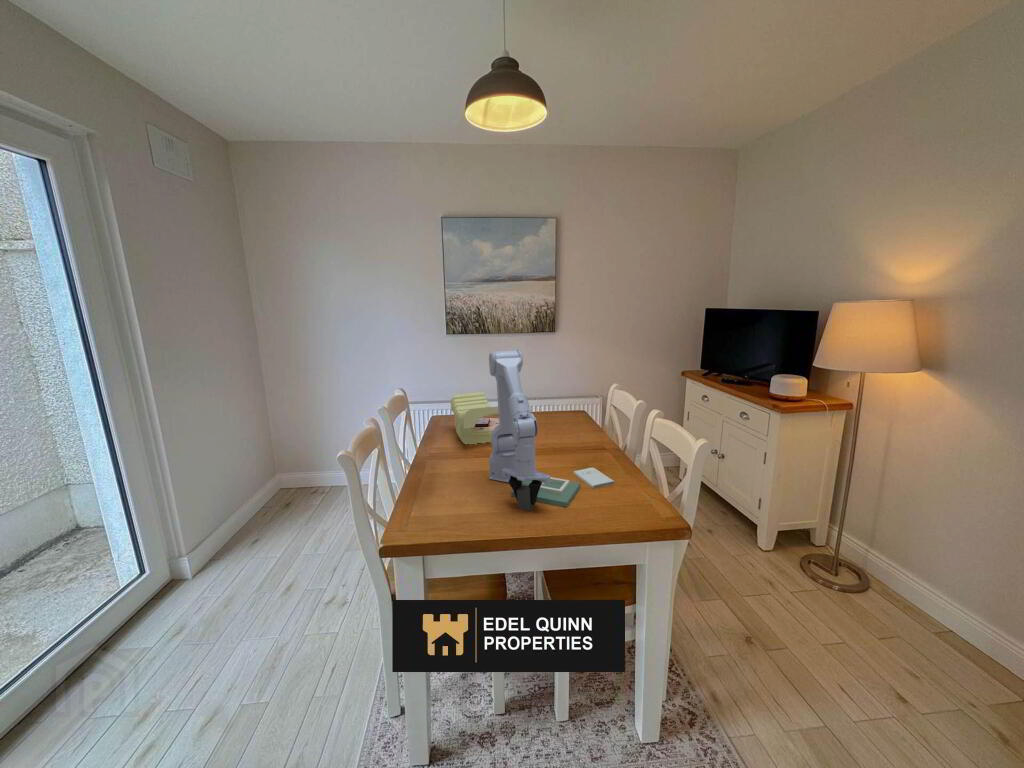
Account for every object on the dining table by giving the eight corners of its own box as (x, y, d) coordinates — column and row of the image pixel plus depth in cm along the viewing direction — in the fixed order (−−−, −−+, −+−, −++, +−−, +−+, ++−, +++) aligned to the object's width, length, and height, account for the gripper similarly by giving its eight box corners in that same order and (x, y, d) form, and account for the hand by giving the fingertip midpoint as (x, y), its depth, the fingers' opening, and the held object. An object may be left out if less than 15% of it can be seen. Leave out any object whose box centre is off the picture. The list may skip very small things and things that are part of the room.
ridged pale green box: (452, 431, 190) (450, 394, 186) (485, 427, 195) (483, 391, 191) (465, 453, 162) (462, 410, 158) (503, 447, 167) (501, 406, 163)
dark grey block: (517, 508, 117) (516, 488, 116) (523, 502, 120) (522, 483, 119) (530, 511, 115) (529, 491, 114) (535, 504, 119) (535, 485, 117)
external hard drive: (592, 490, 128) (573, 475, 139) (614, 485, 131) (593, 471, 142) (592, 485, 128) (573, 470, 139) (614, 480, 130) (593, 466, 142)
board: (511, 496, 124) (510, 488, 124) (529, 478, 137) (528, 470, 136) (566, 507, 117) (566, 498, 116) (580, 487, 129) (580, 479, 128)
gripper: (496, 459, 114) (498, 503, 117) (543, 467, 108) (544, 513, 111) (507, 451, 121) (508, 493, 123) (552, 458, 114) (553, 502, 117)
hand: (526, 502), depth 118 cm, fingers closed on dark grey block, 4 cm apart
